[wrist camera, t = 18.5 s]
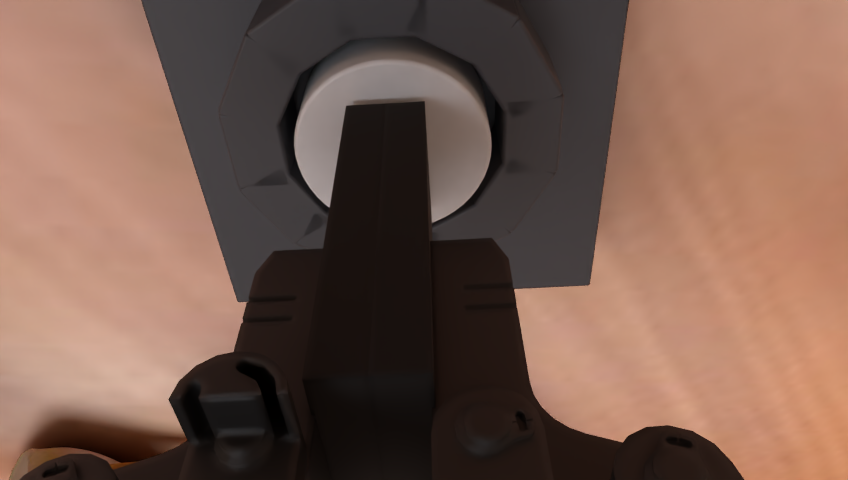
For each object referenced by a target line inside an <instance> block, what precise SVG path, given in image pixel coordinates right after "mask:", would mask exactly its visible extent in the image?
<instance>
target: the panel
mask: <svg viewBox="0 0 848 480" xmlns="http://www.w3.org/2000/svg"><path fill="white" fill-rule="evenodd" d="M141 1H142V4H143V8H144V11H145V14H146V17H147V20H148V23H149V26H150V29H151V33H152V36H153V39H154V42H155V45H156V48H157V51H158V54H159V58H160V61H161V64H162V67H163V70H164V73H165V76H166V79H167V82H168V86H169V89H170V92H171V95H172V98H173V101H174V104H175V107H176V111H177V114H178V117H179V120H180V123H181V126H182V129H183V132H184V136H185V139H186V142H187V145H188V148H189V151H190V154H191V157H192V161H193V164H194V167H195V170H196V173H197V176H198V179H199V182H200V185H201V189H202V192H203V195H204V198H205V201H206V204H207V207H208V210H209V214H210V217H211V220H212V223H213V226H214V229H215V232H216V235H217V239H218V242H219V245H220V248H221V251H222V254H223V257H224V260H225V263H226V267H227V270H228V273H229V276H230V279H231V282H232V285H233V288H234V292H235V295H236V298H237V301H238V302H249V298H248V297H249V294H250V290H251V286H252V283H253V279H254V275H255V272H256V271H257V270H258V269H259V268H260V267H261V265H262V264H263V263H264V262H265V261H266V259H267V258H268V257H269V256H270V255H271V253H272V252H273V251H281V250H301V249H321V248H323V245H324V239H325V233H326V227H327V220H328V214H329V207H328V206H327V205H325V204H324V203H323V202H322V201H321V200H320V199H319V198H318V197H317V196H316V195H315V194H314V193H313V191H312V190H311V189H310V188H309V186H308V184H307V183H306V181H305V179H304V178H303V176H302V174H301V171H300V169H299V167H298V163H297V160H296V156H295V148H294V133H295V127H296V122H297V118H298V115H299V111H300V107H301V104H302V100H303V96H304V92H305V89H306V85H307V82H308V80H309V77H310V75H311V73H312V71H313V69H314V67H315V65H316V64H317V63H318V62H319V61H321V60H322V59H324V58H325V57H327V56H329V55H330V54H332V53H333V52H335V51H336V50H338V49H339V48H341V47H342V46H344V45H345V44H347V43H348V42H350V41H351V40H361V39H378V38H396V37H413V36H415V37H417V38H419V39H421V40H423V41H425V42H427V43H429V44H432V45H434V46H436V47H438V48H440V49H442V50H444V51H446V52H448V53H450V54H452V55H454V56H456V57H459V58H461V59H463V60H465V61H467V62H469V63H470V64H471V65H472V67H473V68H474V70H475V72H476V74H477V75H478V77H479V80H480V83H481V85H482V88H483V93H484V98H485V103H486V109H487V115H488V120H489V126H490V132H491V143H492V148H491V158H490V162H489V166H488V169H487V171H486V174H485V176H484V178H483V180H482V182H481V184H480V185H479V187H478V189H477V190H476V191H475V192H474V194H473V195H472V196H471V197H470V198H469V199H468V200H467V201H466V202H465V203H464V204H463V205H462V206H461V207H459V208H458V209H457V210H456V211H454V212H453V213H451V214H449V215H448V216H446V217H444V218H442V219H440V220H437V221H435V222H432V241H440V240H459V239H479V238H493V240H494V241H495V242H496V243H497V245H498V246H499V247H500V248H501V250H502V251H503V252H504V253H505V254H506V256H507V257H508V258H509V263H510V269H511V275H512V281H513V288H514V289H522V288H543V287H564V286H585V285H589V284H590V279H591V272H592V264H593V257H594V250H595V243H596V235H597V228H598V221H599V214H600V206H601V199H602V192H603V185H604V178H605V170H606V163H607V156H608V149H609V141H610V134H611V127H612V120H613V112H614V105H615V98H616V91H617V83H618V76H619V69H620V62H621V54H622V47H623V40H624V33H625V25H626V18H627V11H628V4H629V0H141Z"/></svg>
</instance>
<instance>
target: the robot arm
mask: <svg viewBox="0 0 848 480" xmlns="http://www.w3.org/2000/svg"><path fill="white" fill-rule="evenodd" d="M248 298H249V303H247V305H246V308H245V312H244V316H243V323H241V327H240V331H239V334H238V338H237V342H236V345H235V349H234V352H232V353H227V354H222V355H217V356H215V357H213V358H211V359H209V360H207V361H205V362H203V363H201V364H199V365H197V366H195V367H194V368H193V369H192V370H191V371H190V372H189V373H188V374H186V375H185V376H184V377H183V378H182V379H181V380H180V381H179V382H178V384H177V386H176V387H175V389H174V391H173V393H172V394H171V396H170V398H169V401H170V403H171V406H172V408H173V410H174V412H175V414H176V416H177V418H178V421H179V423H180V425H181V427H182V429H183V431H184V433H185V436H186V438H187V440H188V441H186V442H185V443H183V444H181V445H180V446H178V447H176V448H174V449H172V450H169V451H167V452H165V453H162V454H160V455H157V456H154V457H151V458H148V459H145V460H141V461H138V462H135V463H132V464H129V465H126V466H123V467H120V468H117V469H114V470H113V469H112V468H111V466H110V464H109V463H108V461H106V460H104V459H102V458H100V457H97V456H95V455H93V454H67V455H64V456H61V457H58V458H55V459H52V460H49V461H46V462H44V463H43V464H41V465H39V466H38V467H36V468H35V469H33V470H31V471H30V472H28V473H27V474H25V475H23V476H22V477H21V478H20V480H744V479H743V477H742V476H741V474H740V473H739V472H738V470H737V469H736V467H735V466H734V464H733V463H732V462H731V461H730V460H729V458H728V457H727V456H726V455H725V454H724V453H723V452H722V451H721V450H720V449H719V448H718V447H717V446H716V445H715V444H714V443H712V442H710V441H709V440H707V439H705V438H703V437H702V436H700V435H698V434H696V433H695V432H693V431H690V430H685V429H681V428H677V427H673V426H669V425H667V426H655V427H645V428H643V429H641V430H639V431H637V432H635V433H633V434H631V435H629V436H628V437H627V438H626V439H625V441H624V442H623V443H622V442H618V441H614V440H610V439H606V438H602V437H597V436H593V435H589V434H585V433H583V432H580V431H577V430H574V429H571V428H569V427H567V426H565V425H564V424H562V423H560V422H558V421H557V420H555V419H554V418H553V417H551V416H550V415H549V414H548V413H547V412H546V411H545V410H544V409H543V408H542V407H541V405H540V404H539V402H538V401H537V399H536V398H535V396H534V394H533V391H532V388H531V385H530V381H529V375H528V369H527V363H526V358H525V352H524V346H523V340H522V334H521V328H520V322H519V316H518V311H517V308H516V299H515V293H514V288H513V281H512V275H511V269H510V263H509V258H508V257H507V256H506V254H505V253H504V252H503V251H502V250H501V248H500V247H499V246H498V245H497V243H496V242H495V241H494V240H493V238H479V239H459V240H440V241H432V215H431V198H430V181H429V164H428V147H427V131H426V114H425V101H420V102H402V103H384V104H366V105H348V106H346V109H345V115H344V121H343V127H342V134H341V140H340V146H339V152H338V158H337V165H336V171H335V177H334V183H333V189H332V196H331V202H330V208H329V214H328V220H327V227H326V233H325V239H324V245H323V248H321V249H301V250H281V251H273V252H272V253H271V255H270V256H269V257H268V258H267V259H266V261H265V262H264V263H263V264H262V265H261V267H260V268H259V269H258V270H257V271H256V272H255V275H254V279H253V283H252V286H251V290H250V294H249V297H248Z"/></svg>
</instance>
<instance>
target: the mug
mask: <svg viewBox="0 0 848 480" xmlns="http://www.w3.org/2000/svg"><path fill="white" fill-rule="evenodd" d="M67 454H93V455H95V456H97V457H100V458H102V459H104V460H106V461H108V463H109V464H110V466H111V468H112V469H113V470H114V469H117V468H120V467H123V466H126V465H129V464H132V463H135V462H127V463H120V462H118V461H116V460H113V459H111V458H109V457H106V456H104V455H101V454H99V453H95V452H92V451H88V450H83V449H77V448H71V447H56V448H45V449H32V448H31V449H29V450H27V451H25V452H24V453H23V454H21V456H20V457H19V459H18V461H17V462H16V464H15V466H14V468H13V470H12V473H11V476H10V478H9V480H20V478H21V477H22V476H23V475H25V474H27V473H28V472H30V471H31V470H33V469H35V468H36V467H38V466H39V465H41V464H43V463H44V462H46V461H49V460H52V459H55V458H58V457H61V456H64V455H67ZM136 462H138V461H136Z"/></svg>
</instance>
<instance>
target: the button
mask: <svg viewBox="0 0 848 480" xmlns="http://www.w3.org/2000/svg"><path fill="white" fill-rule="evenodd" d="M420 101H425V114H426V131H427V147H428V164H429V181H430V198H431V215H432V222H435V221H437V220H440V219H442V218H444V217H446V216H448V215H449V214H451V213H453V212H454V211H456V210H457V209H458V208H459V207H461V206H462V205H463V204H464V203H465V202H466V201H467V200H468V199H469V198H470V197H471V196H472V195H473V194H474V192H475V191H476V190H477V189H478V187H479V185H480V184H481V182H482V180H483V178H484V176H485V174H486V171H487V169H488V166H489V162H490V158H491V148H492V143H491V132H490V126H489V120H488V115H487V109H486V103H485V98H484V93H483V88H482V85H481V83H480V80H479V77H478V75H477V74H476V72H475V70H474V68H473V67H472V65H471V64H470V63H469V62H467V61H465V60H463V59H461V58H459V57H456V56H454V55H452V54H450V53H448V52H446V51H444V50H442V49H440V48H438V47H436V46H434V45H432V44H429V43H427V42H425V41H423V40H421V39H419V38H417V37H415V36H413V37H396V38H378V39H361V40H351V41H350V42H348V43H347V44H345V45H344V46H342V47H341V48H339V49H338V50H336V51H335V52H333V53H332V54H330V55H329V56H327V57H325V58H324V59H322V60H321V61H319V62H318V63H317V64H316V65H315V67H314V69H313V71H312V73H311V75H310V77H309V80H308V82H307V85H306V89H305V92H304V96H303V100H302V104H301V107H300V111H299V115H298V118H297V122H296V127H295V133H294V148H295V156H296V160H297V163H298V167H299V169H300V171H301V174H302V176H303V178H304V179H305V181H306V183H307V184H308V186H309V188H310V189H311V190H312V191H313V193H314V194H315V195H316V196H317V197H318V198H319V199H320V200H321V201H322V202H323V203H324V204H325V205H327V206H328V207H329V208H330V202H331V196H332V189H333V183H334V177H335V171H336V165H337V158H338V152H339V146H340V140H341V134H342V127H343V121H344V115H345V109H346V106H348V105H366V104H384V103H402V102H420Z"/></svg>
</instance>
